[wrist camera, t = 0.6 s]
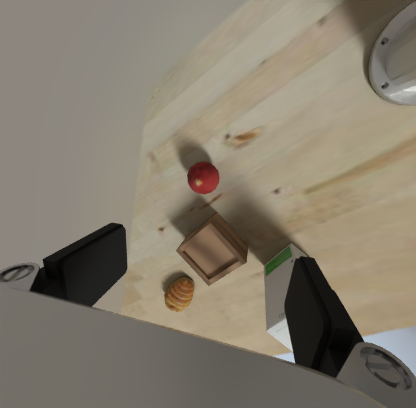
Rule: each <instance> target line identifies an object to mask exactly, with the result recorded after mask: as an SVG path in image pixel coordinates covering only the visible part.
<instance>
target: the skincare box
mask: <svg viewBox="0 0 416 408" xmlns="http://www.w3.org/2000/svg"><path fill="white" fill-rule="evenodd" d="M300 256H304V257H308V256H307V255H305V254H304V253H303V252H302V251H300V250H299V249H298V248H297V247H296V246H294V245H293V244H292V243H290V244H289V245H288V246H287V247H286V248H284V249H283V250H282V251H280V252H279V253H278V254H277V255H276V256H275V257H273V258H272V259H271V260H270V261H268V262H267V263H266V264H265V265H264V281H265V304H266V327H267V330H266V331H267V332H268V333H270V334H271V335H272V336H273V337H275V338H276V339H277V340H279V341H280V342H281V343H282V344H283V345H285V346H286V347H287V348H288V349H289V350H291V351H292V352H293V349H292V344H291V339H290V335H289V330H288V325H287V320H286V315H285V310H284V302H285V298H286V294H287V290H288V286H289V282H290V278H291V274H292V270H293V266H294V262H295V259H296V258H300Z"/></svg>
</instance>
